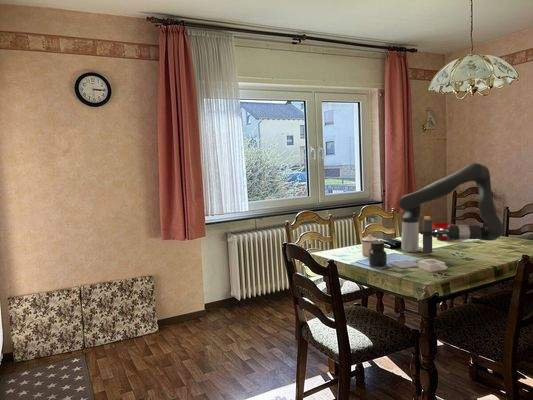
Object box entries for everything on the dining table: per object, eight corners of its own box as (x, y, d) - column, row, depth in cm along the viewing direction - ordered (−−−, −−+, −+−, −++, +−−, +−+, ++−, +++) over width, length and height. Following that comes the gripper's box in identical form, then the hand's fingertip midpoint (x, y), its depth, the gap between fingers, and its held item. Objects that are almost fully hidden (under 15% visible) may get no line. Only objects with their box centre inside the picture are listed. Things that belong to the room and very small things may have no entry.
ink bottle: (385, 262, 222) (385, 240, 221) (389, 266, 213) (389, 243, 212) (367, 263, 222) (366, 240, 221) (370, 267, 214) (369, 244, 212)
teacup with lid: (370, 257, 234) (369, 236, 233) (358, 254, 242) (358, 234, 241) (385, 254, 241) (384, 234, 240) (373, 251, 248) (372, 232, 247)
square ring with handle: (418, 267, 209) (418, 260, 209) (432, 265, 212) (432, 258, 211) (438, 274, 195) (438, 267, 195) (454, 272, 198) (454, 265, 197)
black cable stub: (420, 251, 208) (420, 216, 206) (428, 250, 210) (428, 215, 208) (426, 253, 204) (426, 217, 202) (434, 252, 205) (434, 216, 204)
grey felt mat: (387, 263, 219) (387, 262, 219) (407, 260, 223) (407, 260, 223) (401, 268, 208) (401, 267, 208) (421, 266, 212) (421, 265, 212)
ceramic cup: (431, 241, 268) (431, 226, 267) (432, 237, 284) (432, 222, 283) (453, 242, 263) (453, 227, 262) (453, 237, 279) (453, 222, 278)
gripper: (453, 222, 211) (418, 223, 213) (462, 227, 197) (425, 228, 199) (453, 237, 211) (418, 237, 214) (462, 243, 197) (425, 243, 200)
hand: (421, 233), depth 206 cm, fingers closed on black cable stub, 4 cm apart
